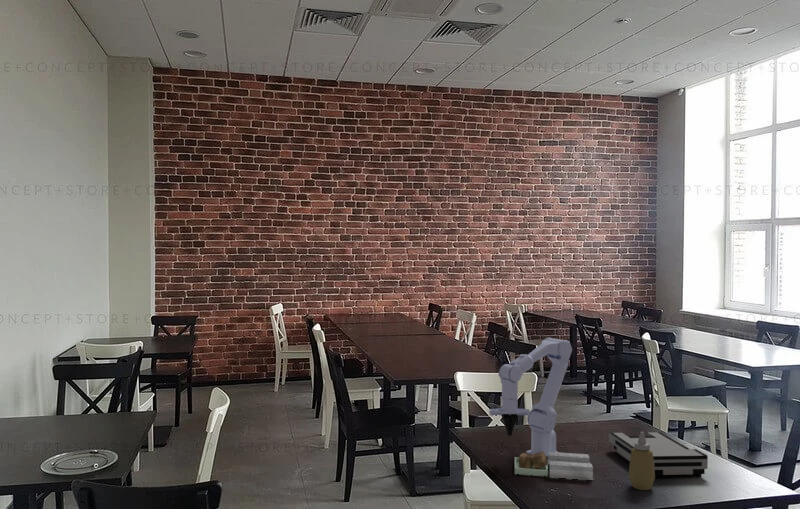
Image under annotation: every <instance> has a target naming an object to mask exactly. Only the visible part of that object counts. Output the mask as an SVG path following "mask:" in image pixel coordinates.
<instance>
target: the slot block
mask: <svg viewBox="0 0 800 509" xmlns="http://www.w3.org/2000/svg"><path fill="white" fill-rule="evenodd" d="M547 461H548V463H547V466H548V469H549V470H548V477H549V478H550V479H559V478H566V479H565V480H572V479H578V480H577V481H586V480H594V467H593V464H592V463H591V461H590V456H589V454H588V453H587V454H585V453H572V452H559V451H557V452H548V456H547Z"/></svg>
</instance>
